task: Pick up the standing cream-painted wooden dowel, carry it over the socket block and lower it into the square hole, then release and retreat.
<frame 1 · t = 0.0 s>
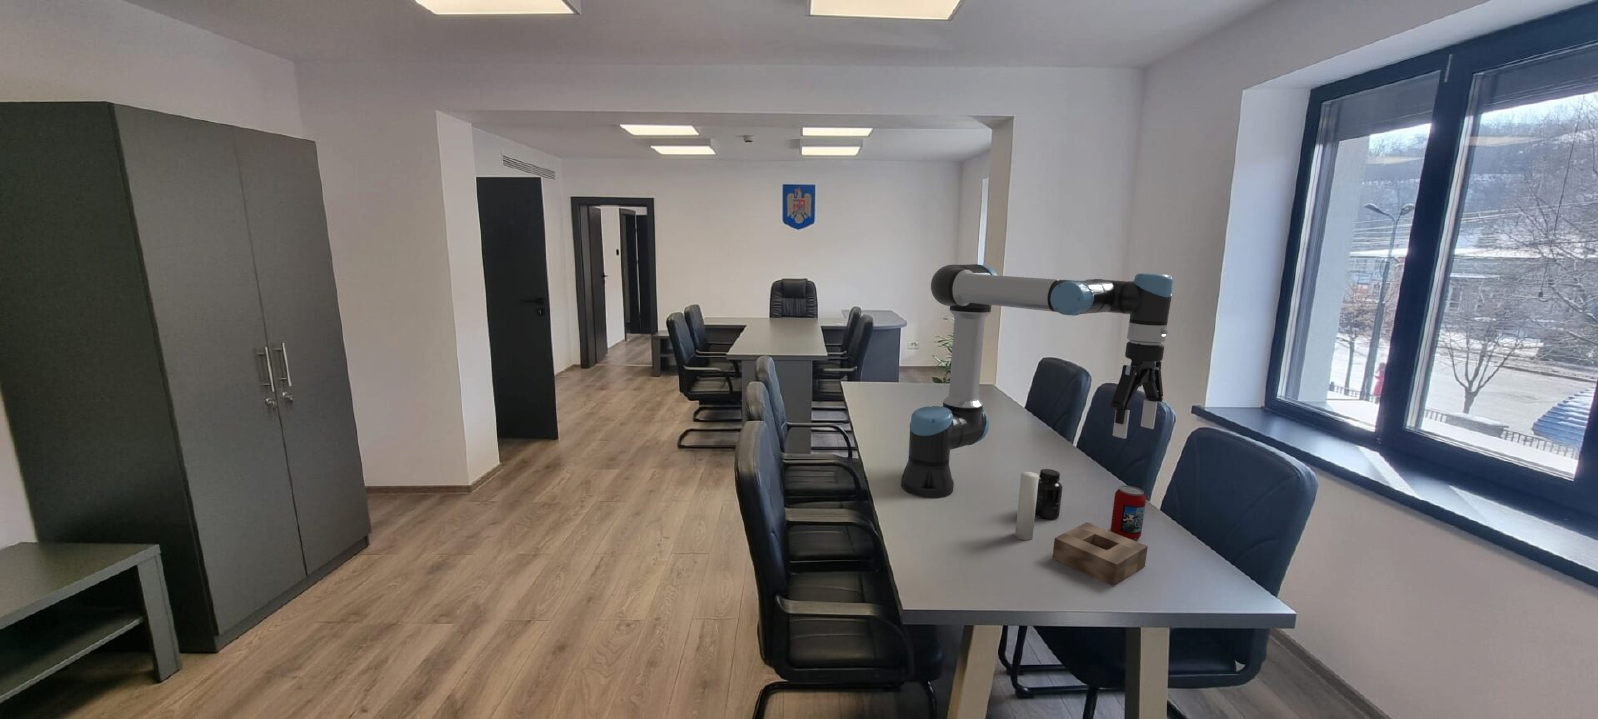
hand: (1133, 432, 140), 28 cm above the table, fingers open, 13 cm apart
beverage can: (1125, 535, 150), on the table
socket block: (1098, 562, 136), on the table
supplement bottle: (1045, 515, 161), on the table
dowel: (1023, 536, 148), on the table
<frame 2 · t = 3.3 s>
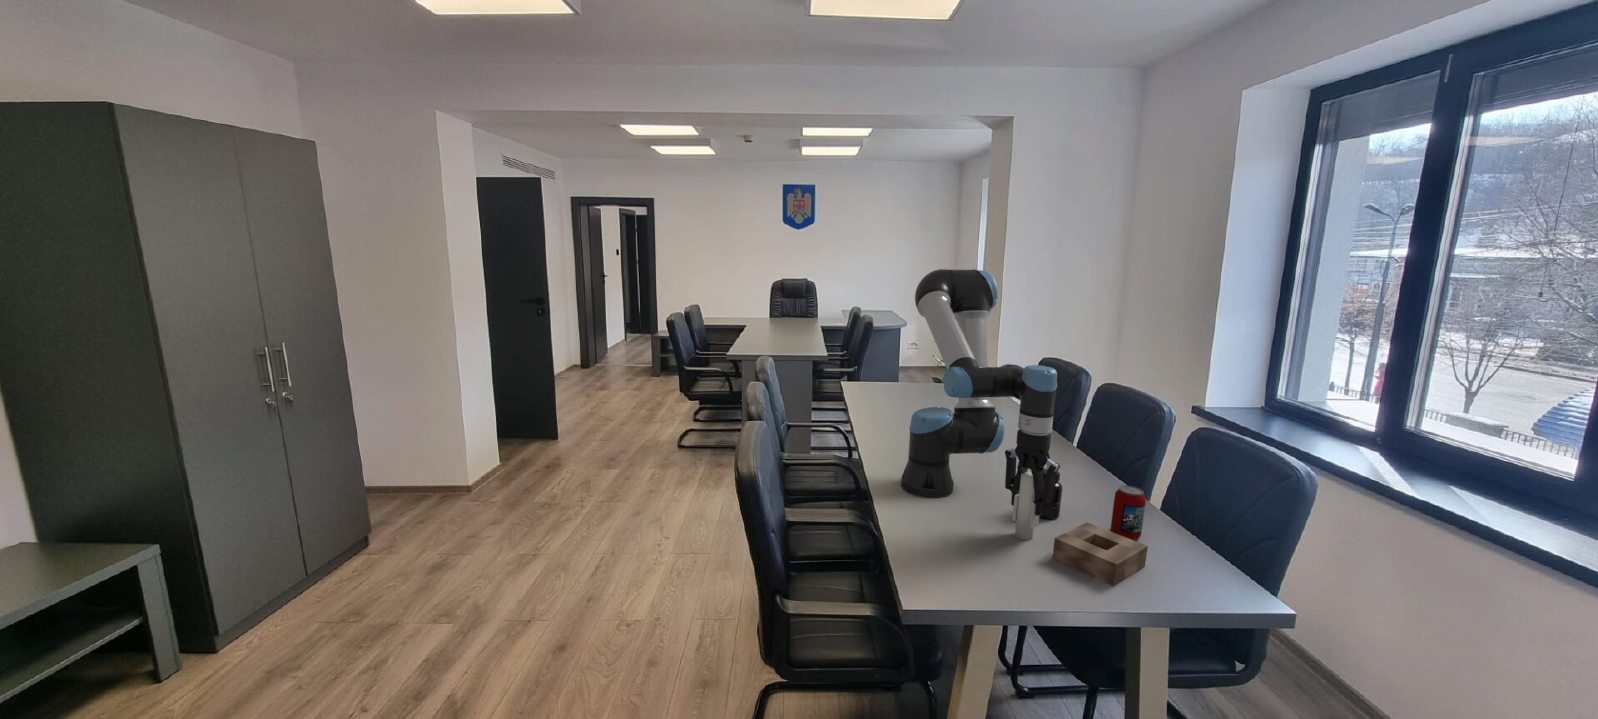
hand: (1025, 522, 147), 4 cm above the table, fingers closed on dowel, 4 cm apart
dowel: (1023, 536, 148), on the table, touching gripper
everything else where it was.
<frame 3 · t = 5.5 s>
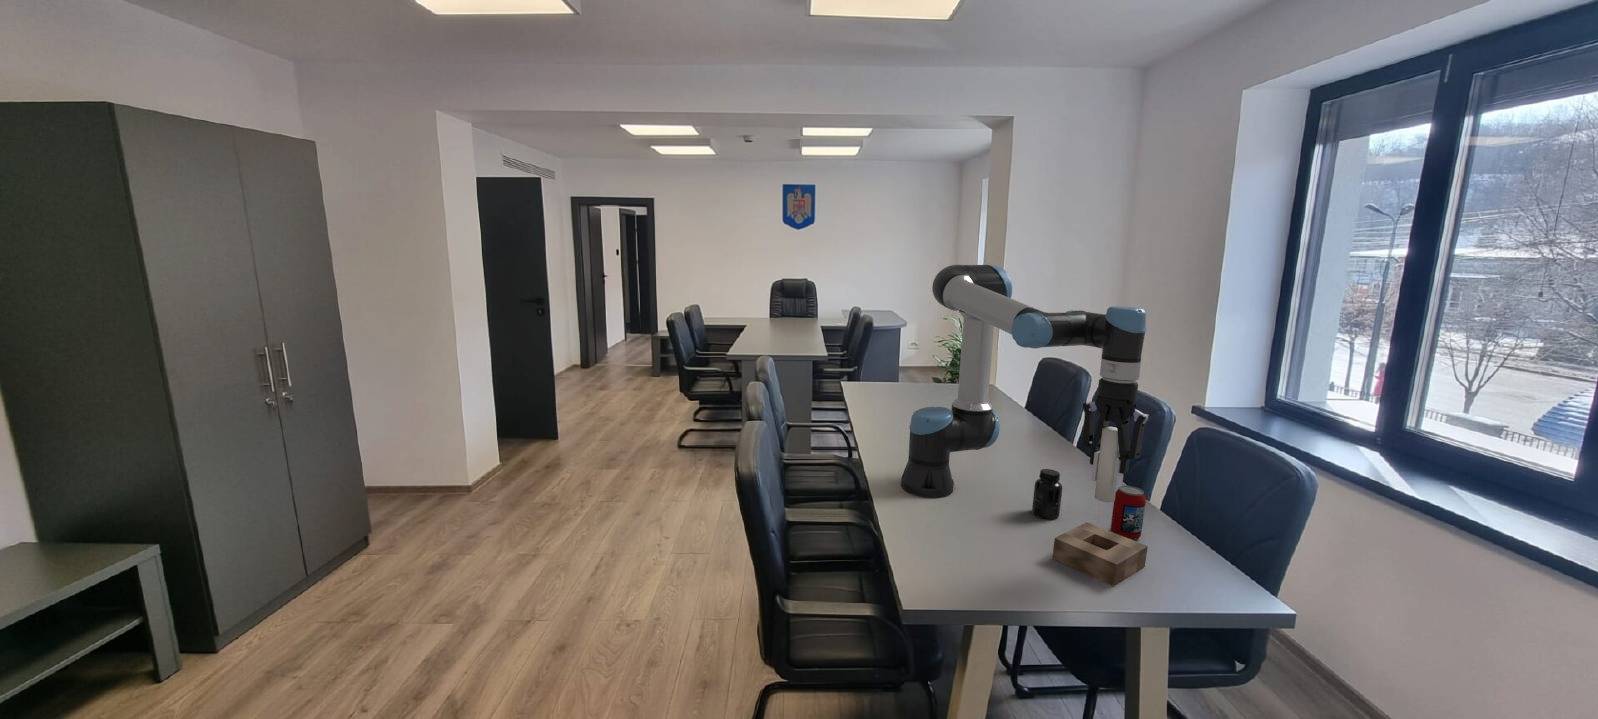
hand: (1106, 482, 133), 19 cm above the table, fingers closed on dowel, 4 cm apart
dowel: (1104, 498, 134), point 15 cm above the table, touching gripper
everything else where it was.
when the fingers open (7 cm above the table, at t = 7.5 s): dowel drops 2 cm, resting in socket block.
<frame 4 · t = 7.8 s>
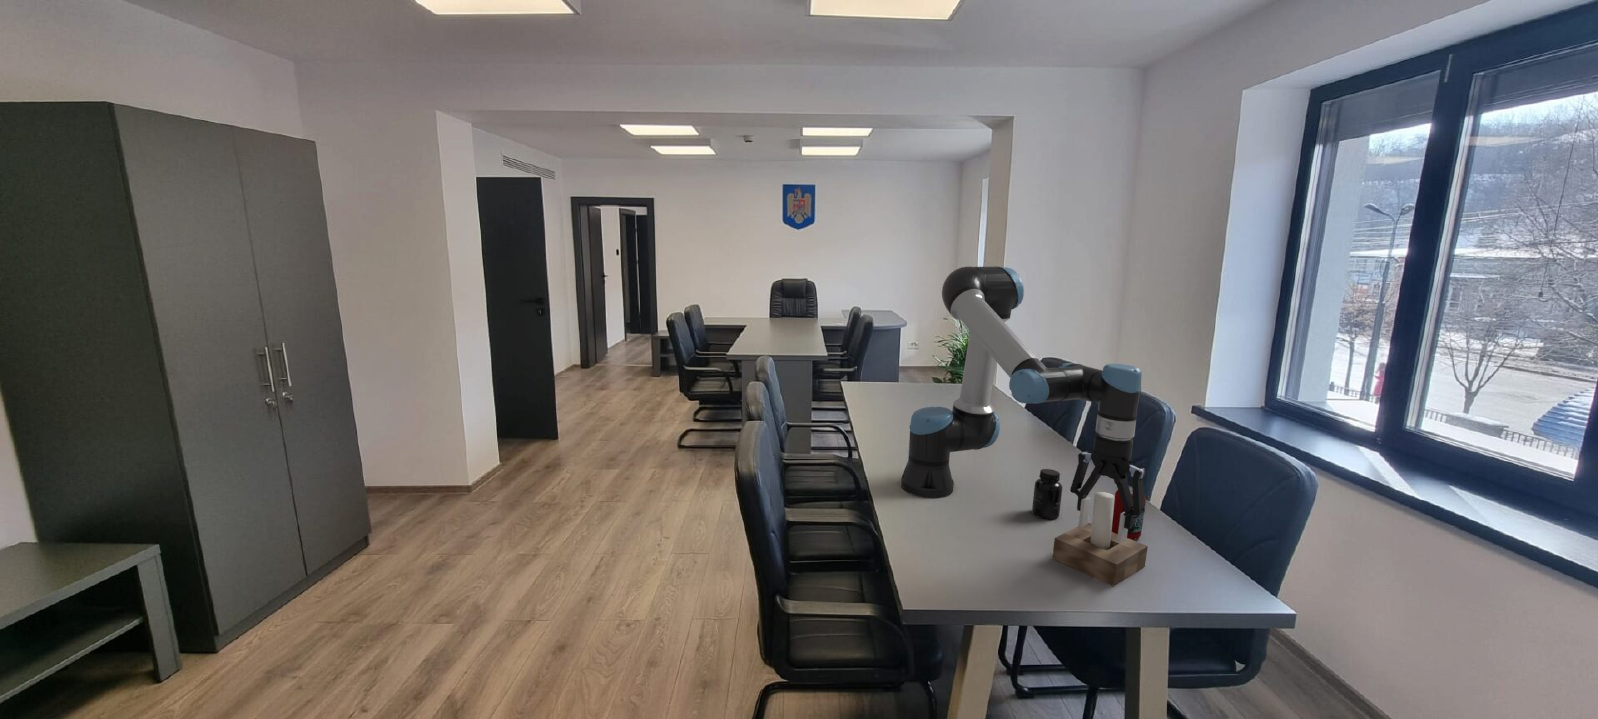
hand: (1101, 532, 135), 7 cm above the table, fingers open, 8 cm apart
dowel: (1098, 562, 136), resting in socket block
everything else where it was.
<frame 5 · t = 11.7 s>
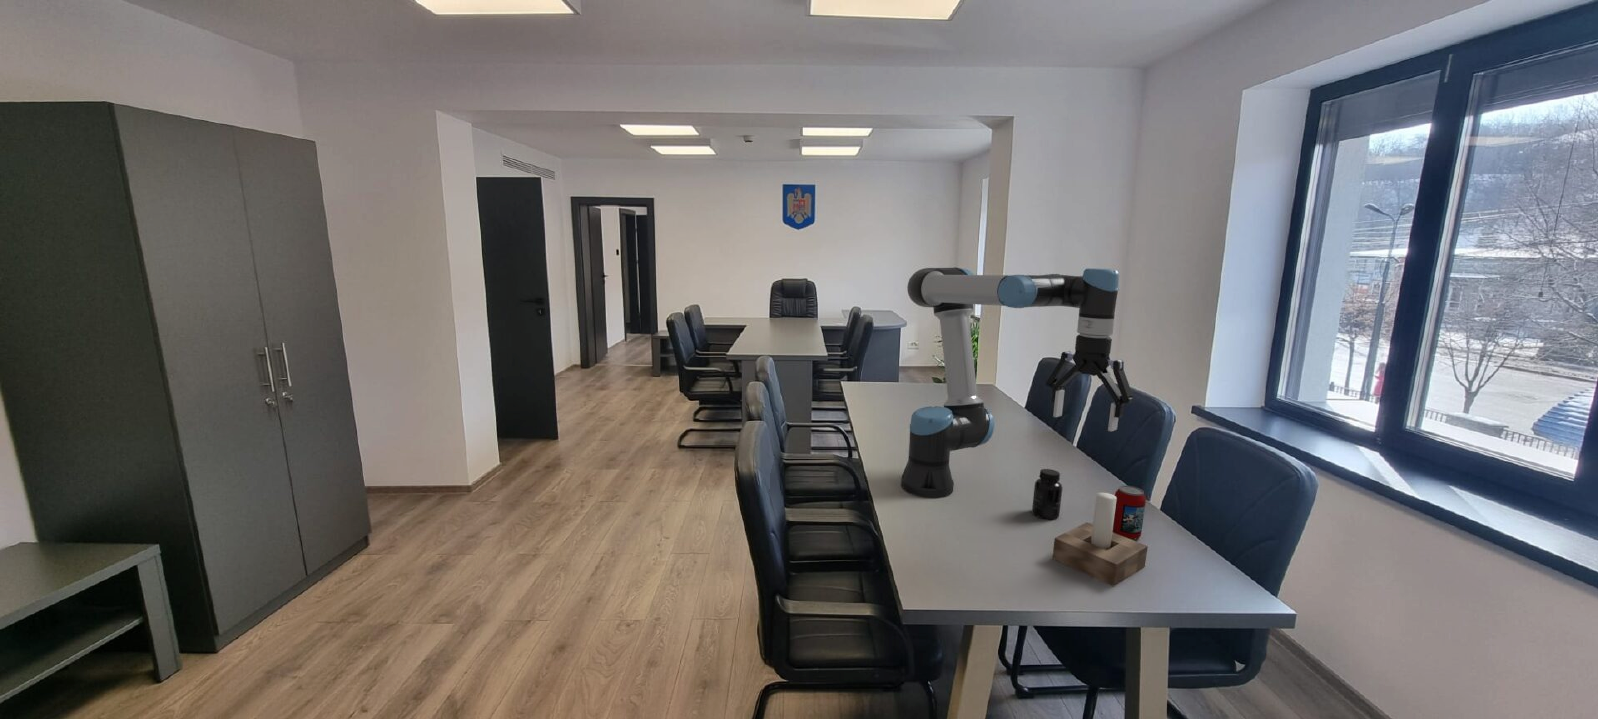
hand: (1083, 423, 144), 29 cm above the table, fingers open, 13 cm apart
nothing on the table moved.
at the end: dowel 0.1 cm off-centre on the socket block, point 0.0 cm above the socket block's base; dowel tilted 0°; the gripper is holding nothing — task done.
